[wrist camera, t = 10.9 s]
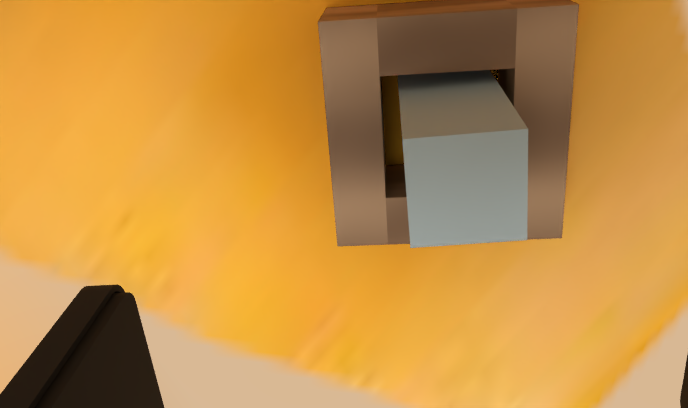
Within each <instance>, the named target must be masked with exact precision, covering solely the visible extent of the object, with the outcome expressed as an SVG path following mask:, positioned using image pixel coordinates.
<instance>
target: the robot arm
mask: <svg viewBox="0 0 688 408" xmlns="http://www.w3.org/2000/svg"><path fill="white" fill-rule="evenodd" d="M680 404H681V408H688V355H687V361H686V367H685V373H684V379H683V385H682V391H681V399H680ZM0 408H164V405H163V401H162V398H161V394H160V390H159V386H158V383H157V379H156V375H155V371H154V368H153V364H152V360H151V357H150V353H149V349H148V345H147V342H146V338H145V335H144V331H143V327H142V323H141V319H140V316H139V312H138V308H137V304H136V301H135V298H134V296H133V295H132V294H131V293H125V291H124V290H123V288H122V287H121V286H119V285H101V286H86V287H84V288H83V289H81V290H80V292H79V293H78V294H77V296H76V297H75V298H74V300H73V301H72V302H71V303H70V305H69V306H68V307H67V309H66V310H65V311H64V312H63V314H62V315H61V316H60V318H59V319H58V320H57V322H56V323H55V324H54V325H53V327H52V328H51V329H50V331H49V332H48V333H47V334H46V336H45V337H44V338H43V340H42V341H41V342H40V344H39V345H38V346H37V347H36V349H35V350H34V351H33V353H32V354H31V355H30V357H29V358H28V359H27V360H26V362H25V363H24V364H23V366H22V367H21V368H20V369H19V371H18V372H17V373H16V375H15V376H14V377H13V379H12V380H11V381H10V382H9V384H8V385H7V386H6V388H5V389H4V390H3V391H2V393H1V394H0Z"/></svg>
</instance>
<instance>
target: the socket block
mask: <svg viewBox="0 0 688 408" xmlns="http://www.w3.org/2000/svg"><path fill="white" fill-rule="evenodd" d="M578 10H579V4H577V3H575V2H573V1H571V0H435V1H420V2H406V3H391V4H376V5H361V6H347V7H332V8H326V10H325V11H324V13H323V14H322V16H321V18H320V19H319V21H318V27H319V39H320V50H321V62H322V73H323V85H324V96H325V108H326V119H327V131H328V142H329V154H330V165H331V177H332V188H333V199H334V211H335V222H336V234H337V245H338V246H359V245H386V244H410V235H409V221H408V208H407V195H406V182H405V169H404V165H386V161H385V141H384V121H383V101H382V81H381V76H393V75H410V74H427V73H444V72H461V71H478V70H495V69H499V76H498V83H499V85H500V87H501V88H502V90H503V91H504V93H505V94H506V96H507V97H508V99H509V100H510V102H511V103H512V105H513V106H514V108H515V109H516V111H517V112H518V114H519V115H520V117H521V119H522V120H523V122H524V123H525V125H526V126H527V128H528V212H527V239H550V238H562V229H563V215H564V201H565V188H566V174H567V160H568V147H569V133H570V119H571V106H572V92H573V78H574V64H575V51H576V37H577V23H578Z"/></svg>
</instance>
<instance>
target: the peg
mask: <svg viewBox="0 0 688 408" xmlns="http://www.w3.org/2000/svg"><path fill="white" fill-rule="evenodd" d="M398 89H399V102H400V116H401V129H402V143H403V156H404V169H405V182H406V195H407V208H408V221H409V235H410V248H416V247H430V246H445V245H460V244H475V243H490V242H505V241H519V240H527V212H528V128H527V126H526V125H525V123H524V122H523V120H522V119H521V117H520V115H519V114H518V112H517V111H516V109H515V108H514V106H513V105H512V103H511V102H510V100H509V99H508V97H507V96H506V94H505V93H504V91H503V90H502V88H501V87H500V85H499V83H498V82H497V80H496V79H495V77H494V76H493V74H492V73H491V71H490V70H478V71H461V72H444V73H427V74H410V75H398Z"/></svg>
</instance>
